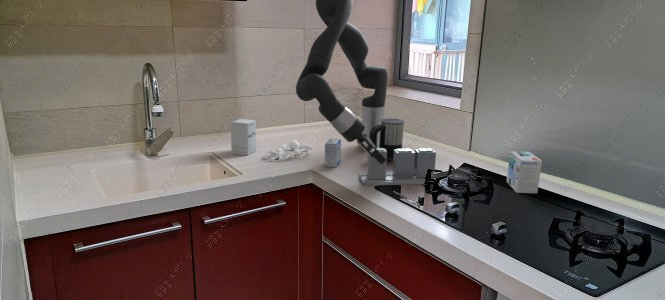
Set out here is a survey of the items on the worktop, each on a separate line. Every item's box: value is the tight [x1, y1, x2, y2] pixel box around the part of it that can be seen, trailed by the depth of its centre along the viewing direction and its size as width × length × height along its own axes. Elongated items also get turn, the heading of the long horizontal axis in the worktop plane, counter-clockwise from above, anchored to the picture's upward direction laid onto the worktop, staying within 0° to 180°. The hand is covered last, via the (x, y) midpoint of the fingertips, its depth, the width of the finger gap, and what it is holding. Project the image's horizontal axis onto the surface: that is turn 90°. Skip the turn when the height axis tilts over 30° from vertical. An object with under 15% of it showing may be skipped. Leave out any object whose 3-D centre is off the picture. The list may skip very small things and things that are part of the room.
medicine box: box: [324, 138, 342, 168], centre depth 174 cm, size 8×4×9 cm, turn 168°
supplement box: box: [230, 118, 257, 156], centre depth 186 cm, size 7×7×13 cm
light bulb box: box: [506, 150, 543, 194], centre depth 152 cm, size 11×7×11 cm, turn 178°
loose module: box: [366, 148, 388, 179], centre depth 155 cm, size 4×6×10 cm, turn 96°
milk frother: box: [370, 118, 406, 162], centre depth 177 cm, size 14×16×15 cm
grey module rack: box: [358, 148, 437, 187], centre depth 157 cm, size 8×24×11 cm, turn 97°
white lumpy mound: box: [264, 139, 313, 163], centre depth 183 cm, size 19×14×4 cm
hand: (381, 158), depth 155 cm, fingers open, 8 cm apart
